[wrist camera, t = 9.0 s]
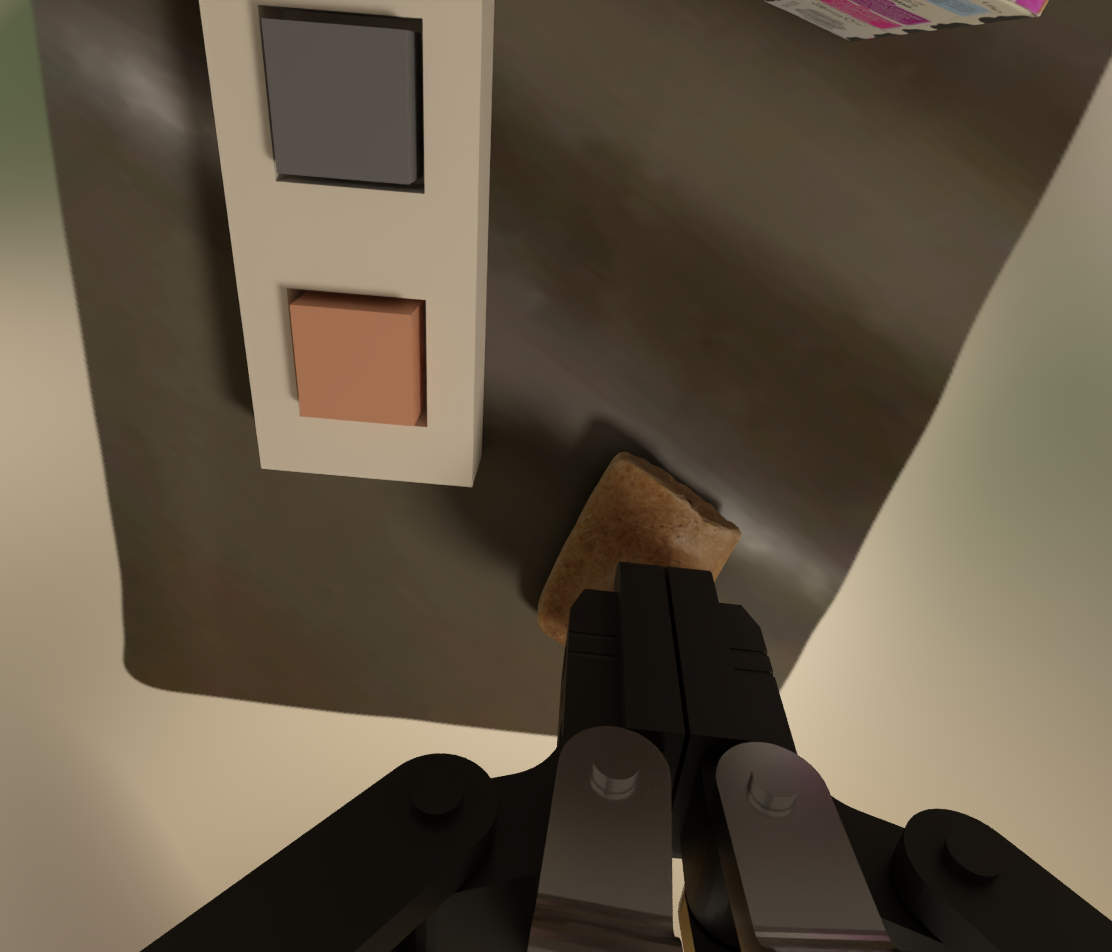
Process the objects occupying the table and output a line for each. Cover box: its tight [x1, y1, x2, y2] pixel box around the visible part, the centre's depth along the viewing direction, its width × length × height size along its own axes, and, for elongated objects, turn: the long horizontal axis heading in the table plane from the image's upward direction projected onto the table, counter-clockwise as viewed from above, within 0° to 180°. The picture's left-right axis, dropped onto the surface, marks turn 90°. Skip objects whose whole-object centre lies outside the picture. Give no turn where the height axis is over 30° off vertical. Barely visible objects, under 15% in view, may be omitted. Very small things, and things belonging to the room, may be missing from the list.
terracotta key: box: [290, 290, 425, 426], centre depth 39 cm, size 6×6×3 cm
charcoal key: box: [261, 18, 423, 185], centre depth 33 cm, size 6×6×3 cm
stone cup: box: [537, 452, 741, 646], centre depth 42 cm, size 15×12×15 cm
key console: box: [199, 0, 494, 487], centre depth 38 cm, size 26×12×4 cm, turn 176°
